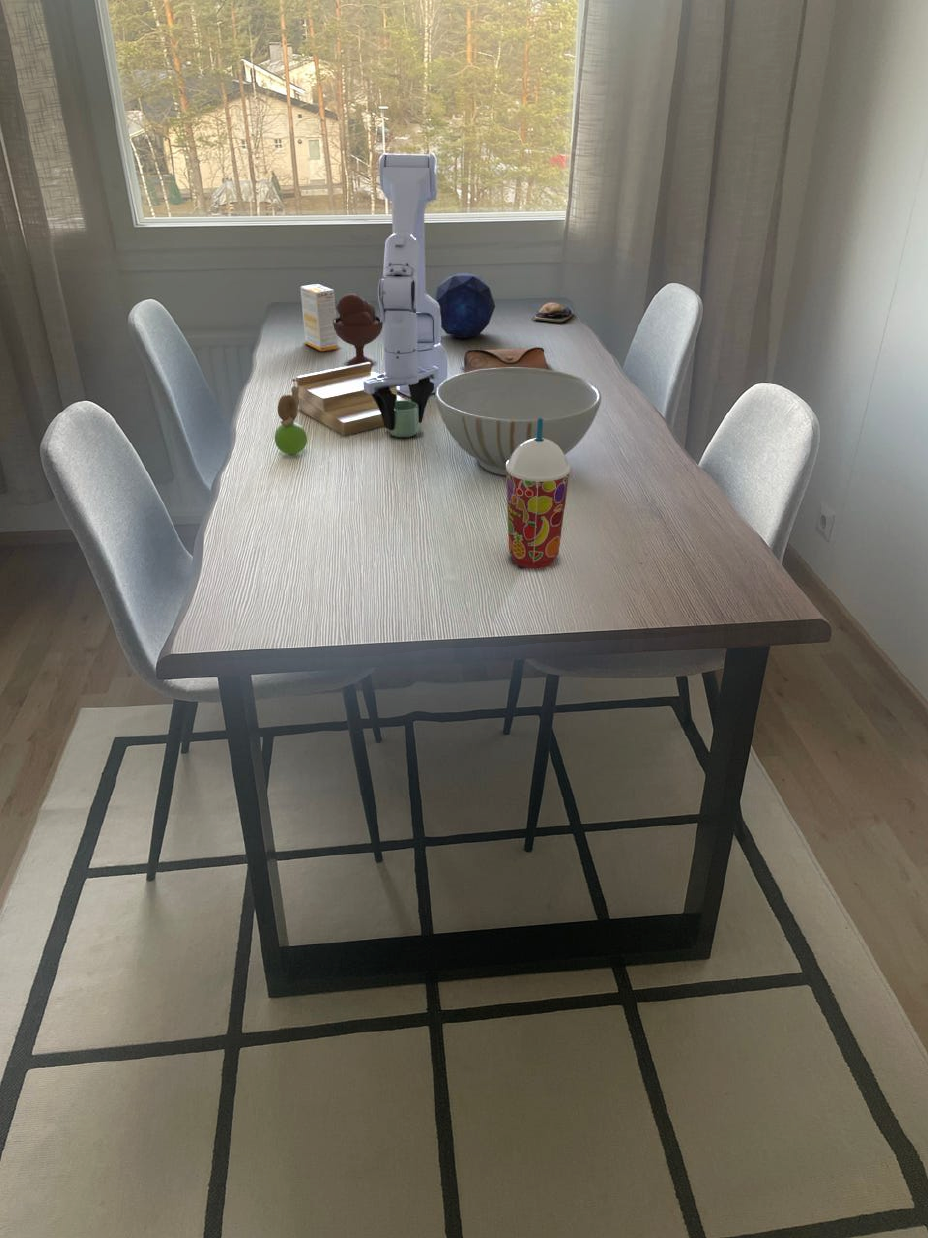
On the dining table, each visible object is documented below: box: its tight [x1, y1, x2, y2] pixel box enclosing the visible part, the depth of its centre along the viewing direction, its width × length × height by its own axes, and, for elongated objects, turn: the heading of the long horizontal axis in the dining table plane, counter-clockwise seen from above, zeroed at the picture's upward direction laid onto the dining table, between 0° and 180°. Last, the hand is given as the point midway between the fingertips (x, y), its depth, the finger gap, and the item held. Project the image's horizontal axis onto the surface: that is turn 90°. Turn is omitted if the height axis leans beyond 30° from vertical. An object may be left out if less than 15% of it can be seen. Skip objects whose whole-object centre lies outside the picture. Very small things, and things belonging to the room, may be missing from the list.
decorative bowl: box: [434, 367, 602, 476], centre depth 152 cm, size 27×27×12 cm
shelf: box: [295, 362, 409, 437], centre depth 173 cm, size 17×16×6 cm
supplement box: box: [299, 283, 339, 352], centre depth 210 cm, size 8×5×13 cm, turn 34°
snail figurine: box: [274, 378, 308, 455], centre depth 155 cm, size 5×6×12 cm
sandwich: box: [533, 302, 573, 323], centre depth 235 cm, size 11×8×4 cm
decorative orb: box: [433, 271, 496, 340], centre depth 218 cm, size 14×15×15 cm
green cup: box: [387, 399, 420, 438], centre depth 165 cm, size 6×6×5 cm
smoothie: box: [505, 418, 572, 570], centre depth 121 cm, size 8×8×20 cm
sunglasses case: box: [463, 346, 550, 373], centre depth 198 cm, size 18×7×7 cm
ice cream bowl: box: [333, 293, 383, 366], centre depth 198 cm, size 11×11×15 cm
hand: (403, 424), depth 165 cm, fingers closed on green cup, 5 cm apart
